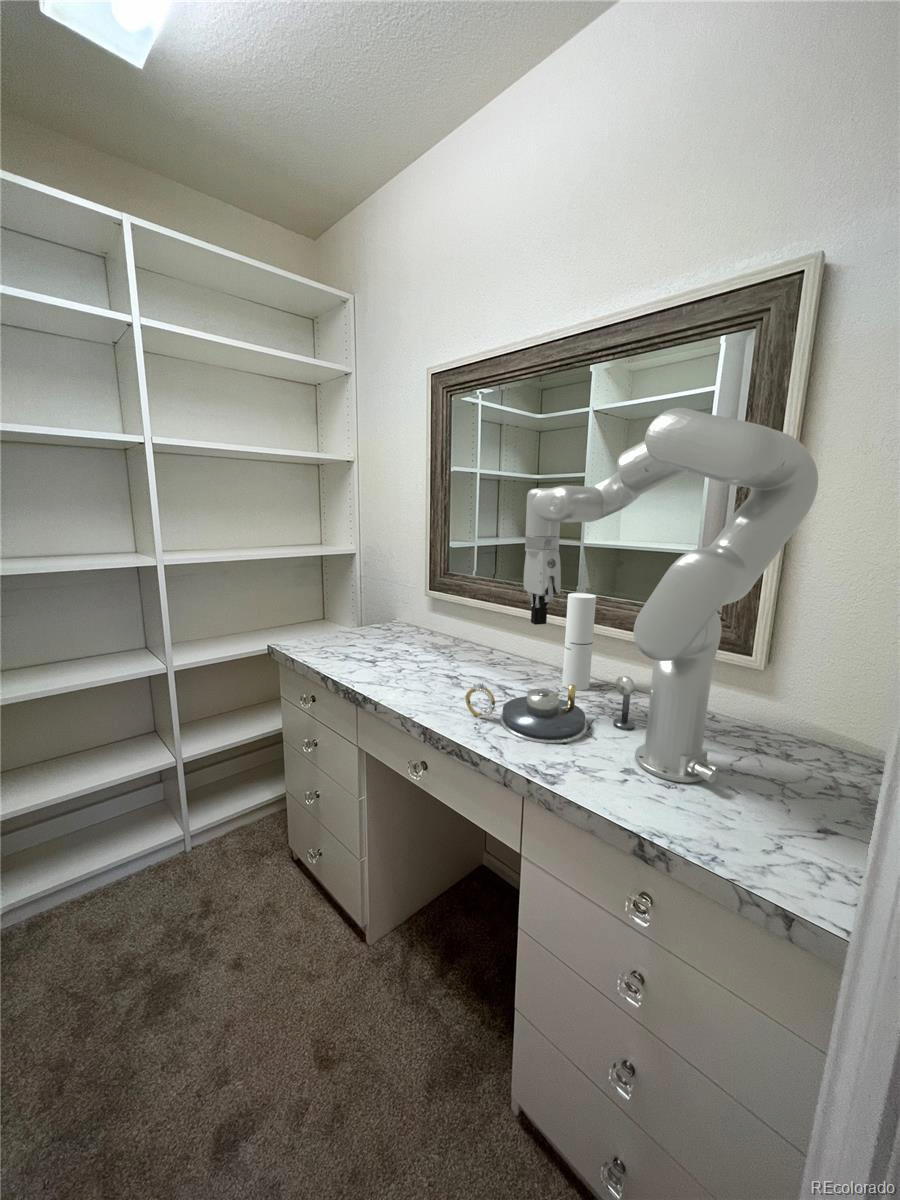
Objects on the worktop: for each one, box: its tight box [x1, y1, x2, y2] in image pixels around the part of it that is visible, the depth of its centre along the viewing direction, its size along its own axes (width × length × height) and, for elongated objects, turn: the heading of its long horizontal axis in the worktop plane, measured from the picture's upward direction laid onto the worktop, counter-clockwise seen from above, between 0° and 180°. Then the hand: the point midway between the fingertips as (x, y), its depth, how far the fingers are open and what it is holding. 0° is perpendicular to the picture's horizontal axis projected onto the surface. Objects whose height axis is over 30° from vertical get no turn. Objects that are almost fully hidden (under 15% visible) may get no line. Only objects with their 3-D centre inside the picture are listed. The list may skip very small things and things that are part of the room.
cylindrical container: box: [561, 592, 597, 691], centre depth 126 cm, size 7×7×25 cm
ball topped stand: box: [613, 675, 636, 731], centre depth 103 cm, size 4×4×12 cm
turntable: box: [502, 685, 586, 739], centre depth 104 cm, size 18×18×7 cm
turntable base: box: [499, 712, 588, 745], centre depth 105 cm, size 19×19×1 cm
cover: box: [526, 688, 561, 718], centre depth 104 cm, size 7×7×4 cm
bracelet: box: [465, 683, 496, 719], centre depth 106 cm, size 7×3×8 cm, turn 52°
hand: (538, 623), depth 109 cm, fingers closed
